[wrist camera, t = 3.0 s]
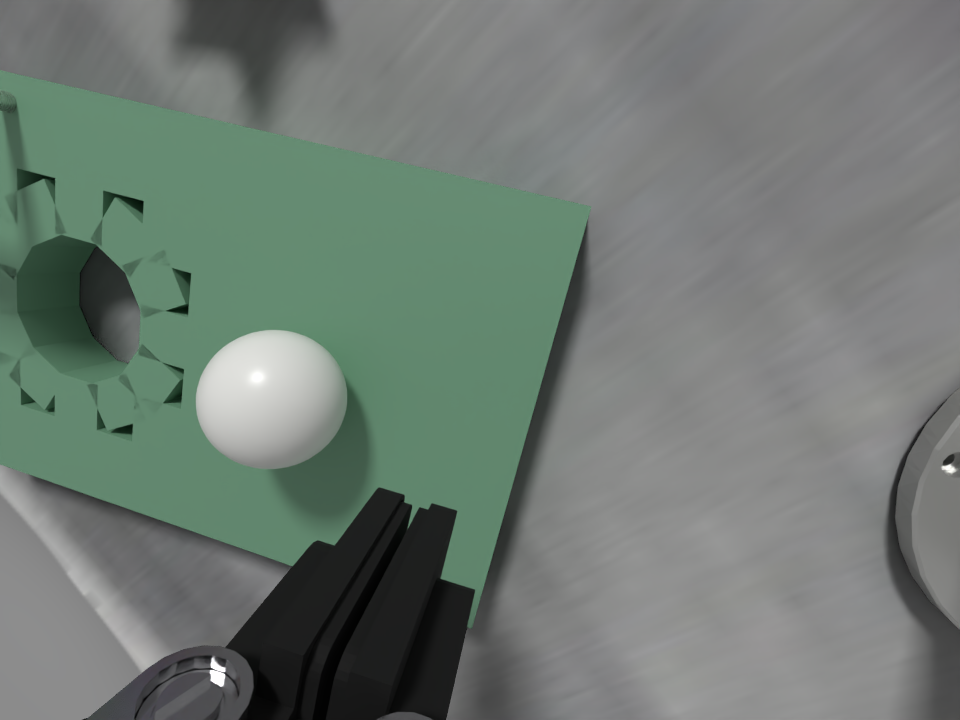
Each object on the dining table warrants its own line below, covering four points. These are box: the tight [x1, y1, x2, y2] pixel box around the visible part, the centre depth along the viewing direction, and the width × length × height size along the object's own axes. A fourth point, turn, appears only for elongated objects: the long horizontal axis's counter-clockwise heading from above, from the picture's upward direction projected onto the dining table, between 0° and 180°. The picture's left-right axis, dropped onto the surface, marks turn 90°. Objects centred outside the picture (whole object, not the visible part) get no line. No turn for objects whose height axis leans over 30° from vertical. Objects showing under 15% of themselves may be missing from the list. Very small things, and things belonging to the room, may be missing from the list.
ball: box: [196, 330, 347, 469], centre depth 15 cm, size 4×4×4 cm
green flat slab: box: [0, 70, 591, 629], centre depth 19 cm, size 24×16×2 cm, turn 77°
